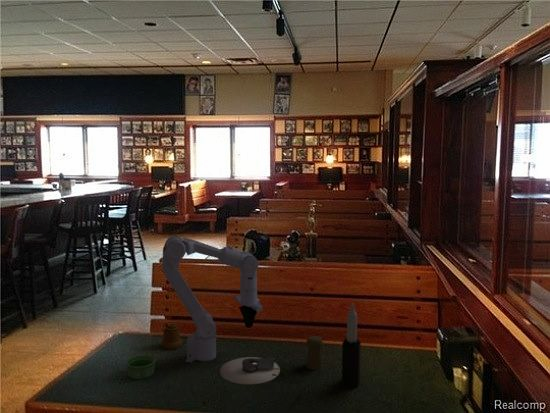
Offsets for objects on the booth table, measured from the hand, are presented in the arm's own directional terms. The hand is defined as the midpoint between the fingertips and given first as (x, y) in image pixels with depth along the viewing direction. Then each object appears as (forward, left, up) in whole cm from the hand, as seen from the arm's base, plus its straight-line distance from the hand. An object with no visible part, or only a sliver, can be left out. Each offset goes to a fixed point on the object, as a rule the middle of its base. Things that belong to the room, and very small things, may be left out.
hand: (249, 326), depth 159 cm
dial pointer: (+9, -11, -9) cm, 17 cm away
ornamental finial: (-30, -5, -11) cm, 32 cm away
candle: (+37, -4, -11) cm, 39 cm away
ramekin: (-25, -27, -11) cm, 38 cm away
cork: (+24, -1, -11) cm, 27 cm away
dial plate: (+7, -12, -10) cm, 18 cm away
